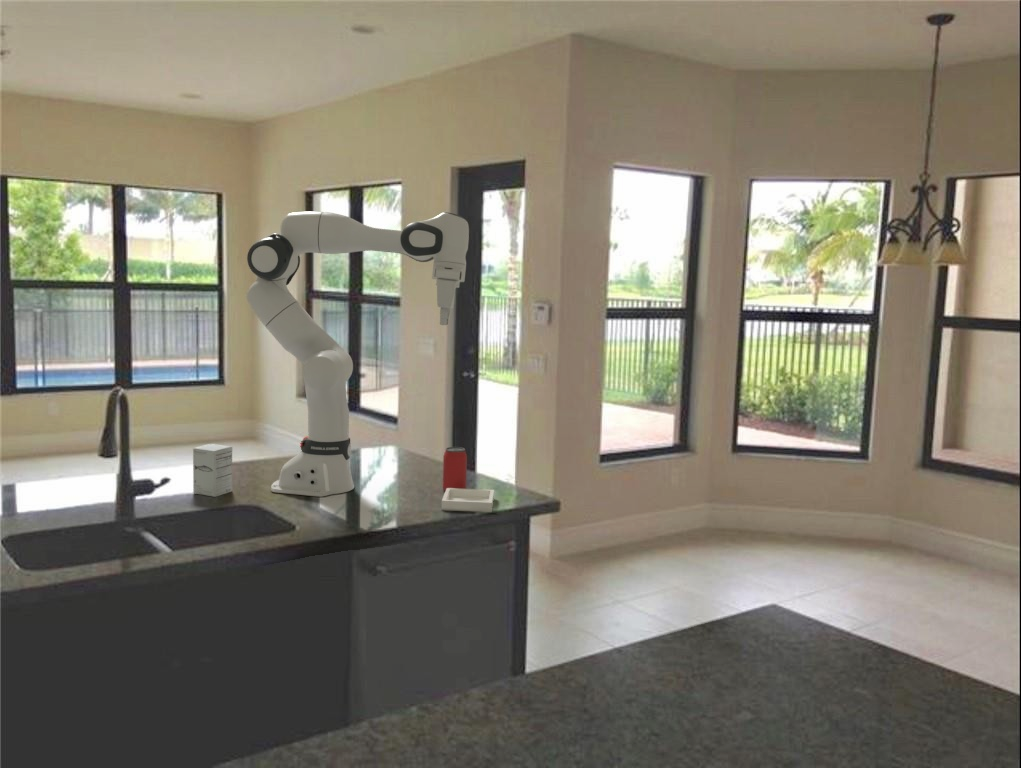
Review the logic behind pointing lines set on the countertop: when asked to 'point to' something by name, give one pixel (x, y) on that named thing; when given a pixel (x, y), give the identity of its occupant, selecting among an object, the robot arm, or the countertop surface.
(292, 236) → the robot arm
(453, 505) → the tray
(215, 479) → the supplement box
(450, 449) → the beer can
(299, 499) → the countertop surface
